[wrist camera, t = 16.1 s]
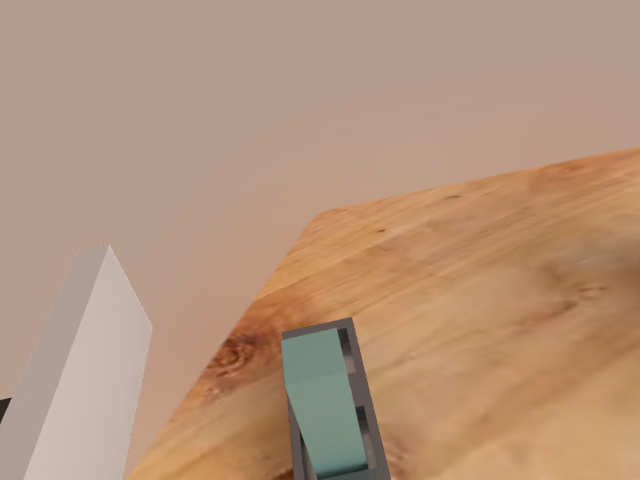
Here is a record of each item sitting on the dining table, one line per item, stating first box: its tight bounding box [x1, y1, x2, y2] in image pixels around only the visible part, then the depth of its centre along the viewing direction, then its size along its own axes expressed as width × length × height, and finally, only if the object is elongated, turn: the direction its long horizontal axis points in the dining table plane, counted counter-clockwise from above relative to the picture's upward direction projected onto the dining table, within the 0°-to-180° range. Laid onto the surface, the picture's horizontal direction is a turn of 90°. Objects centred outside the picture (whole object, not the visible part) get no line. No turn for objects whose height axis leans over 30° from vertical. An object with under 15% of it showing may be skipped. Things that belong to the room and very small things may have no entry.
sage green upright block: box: [281, 328, 369, 480], centre depth 38 cm, size 4×4×12 cm
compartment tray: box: [282, 317, 391, 480], centre depth 45 cm, size 17×7×3 cm, turn 7°
